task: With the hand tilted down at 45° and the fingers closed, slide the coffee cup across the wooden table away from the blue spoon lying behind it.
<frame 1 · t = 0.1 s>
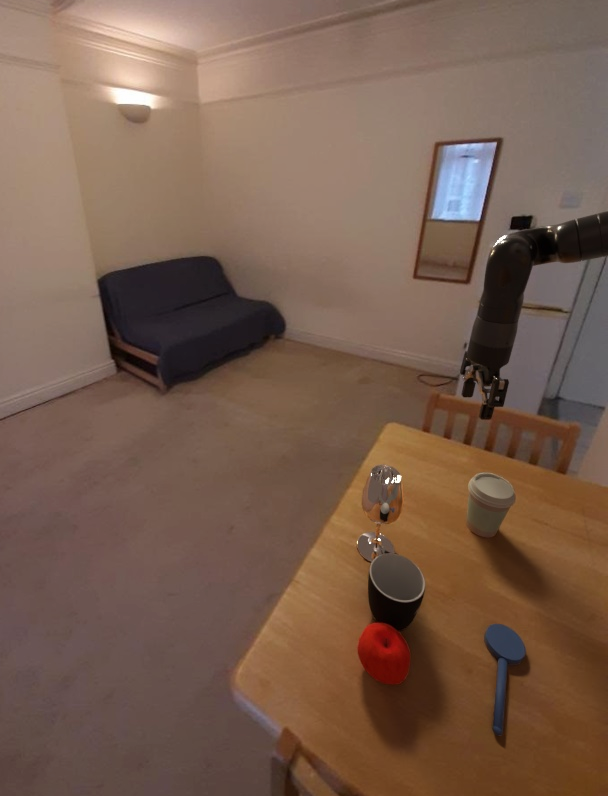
hand: (475, 407, 87), 24 cm above the table, tool pointing down, fingers open, 8 cm apart
mug: (390, 605, 73), on the table
wineglass: (375, 548, 84), on the table
coffee cup: (480, 527, 88), on the table
blue spoon: (500, 678, 63), on the table
apple: (381, 667, 65), on the table
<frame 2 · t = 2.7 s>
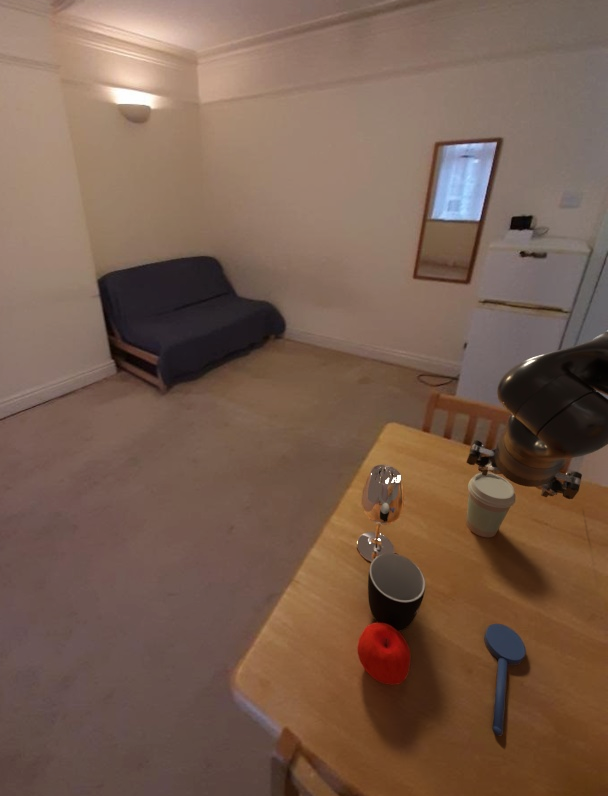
hand: (513, 479, 68), 24 cm above the table, tool tilted 40°, fingers open, 8 cm apart
nothing on the table moved.
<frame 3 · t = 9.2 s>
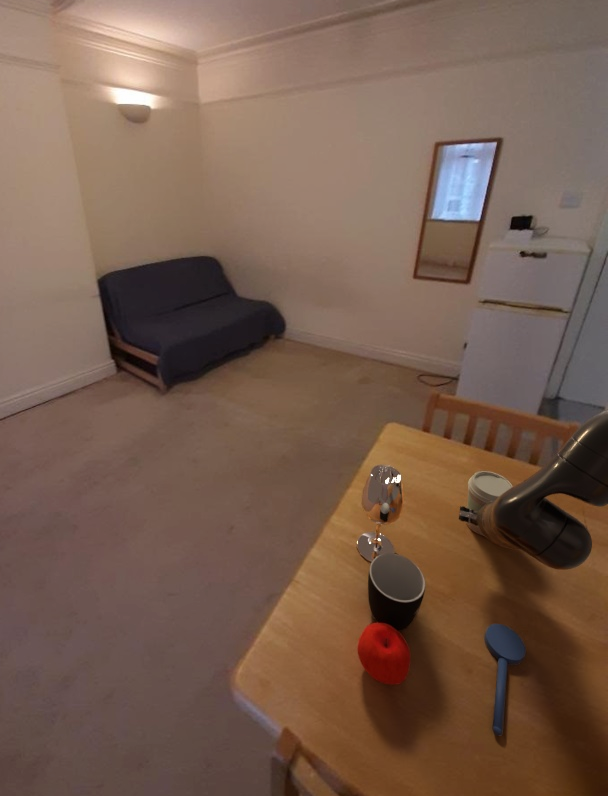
hand: (486, 522, 82), 5 cm above the table, tool tilted 45°, fingers closed
coffee cup: (480, 525, 88), on the table, touching gripper
everything else where it was.
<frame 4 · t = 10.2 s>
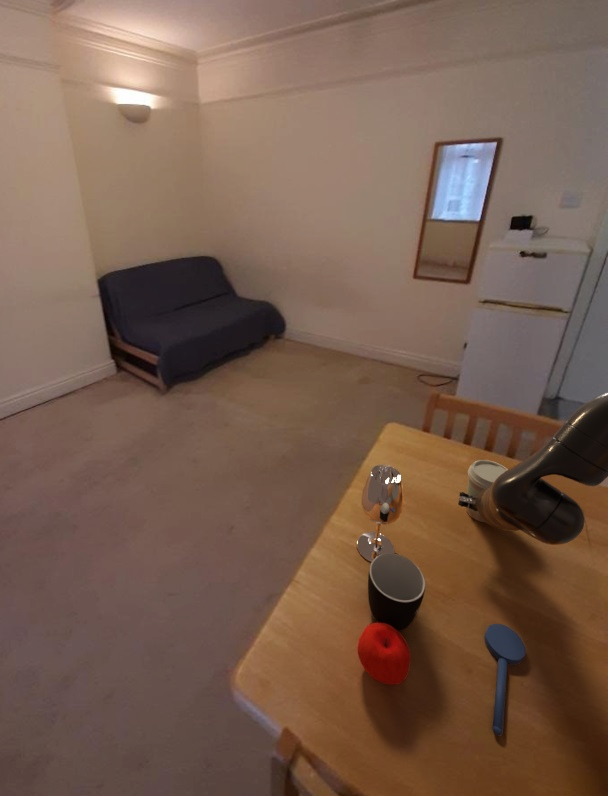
hand: (484, 508, 86), 5 cm above the table, tool tilted 45°, fingers closed
coffee cup: (479, 513, 91), on the table, touching gripper
everything else where it was.
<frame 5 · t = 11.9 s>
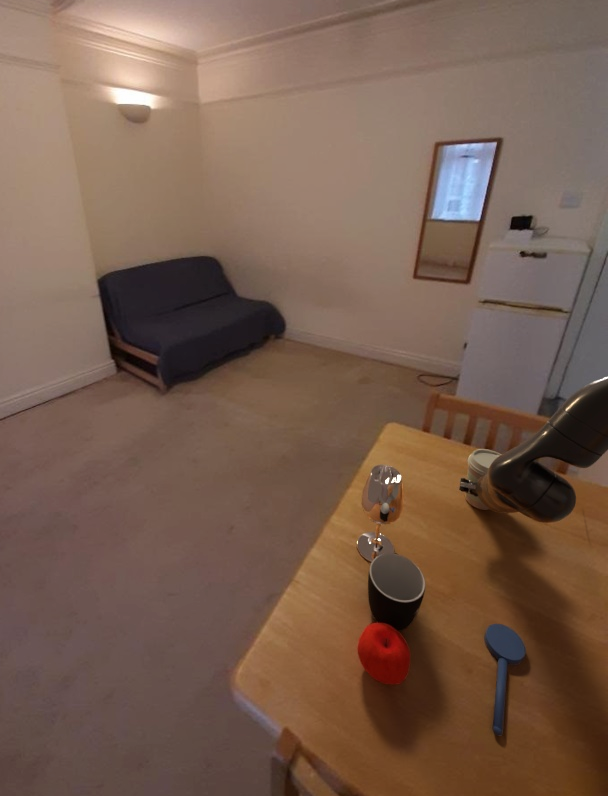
hand: (485, 494, 88), 6 cm above the table, tool tilted 45°, fingers closed
coffee cup: (478, 501, 94), on the table, touching gripper
everything else where it was.
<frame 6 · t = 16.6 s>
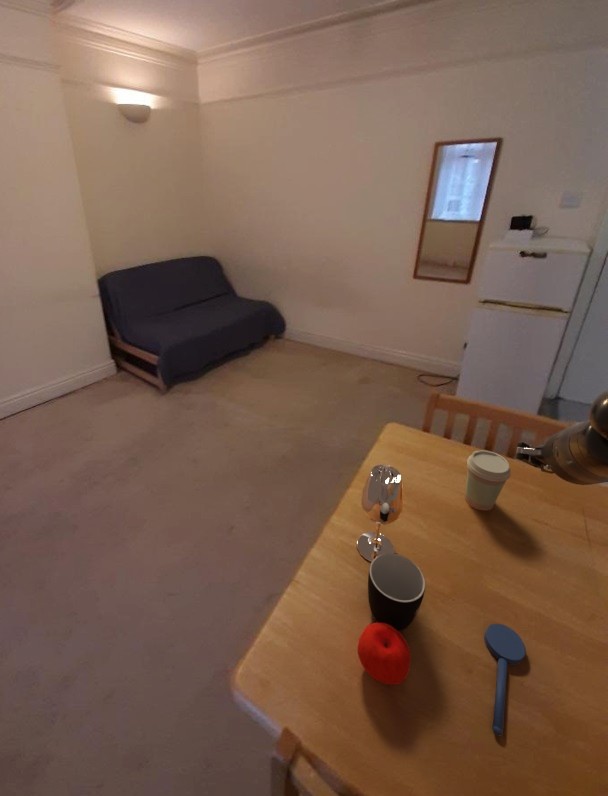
hand: (546, 466, 68), 26 cm above the table, tool tilted 45°, fingers closed
coffee cup: (478, 501, 94), on the table
everything else where it was.
at the end: coffee cup tilted 0°; blue spoon moved 0.0 cm from its start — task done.
